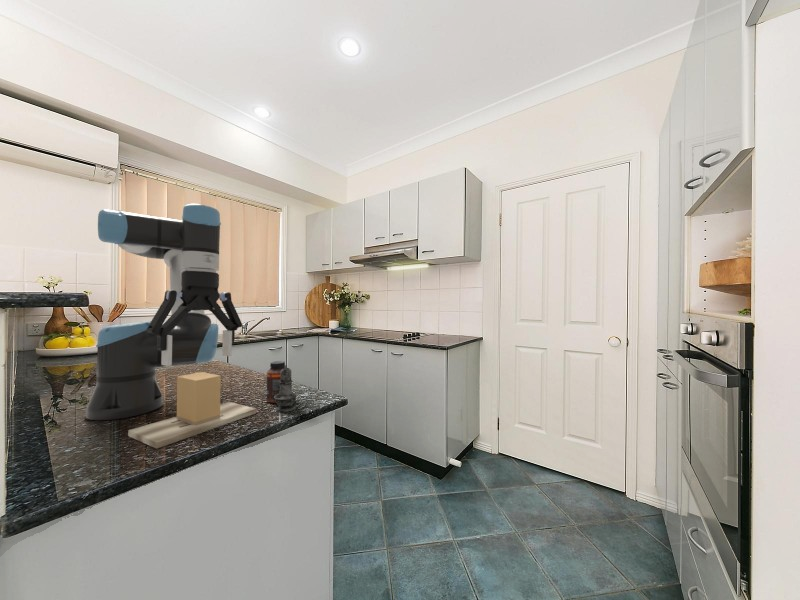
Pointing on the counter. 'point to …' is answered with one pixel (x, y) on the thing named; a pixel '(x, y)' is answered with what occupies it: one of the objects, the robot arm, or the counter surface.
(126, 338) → the robot arm
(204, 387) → the block
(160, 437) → the birch board
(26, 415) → the counter surface
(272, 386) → the supplement bottle
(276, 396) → the grey chess piece
